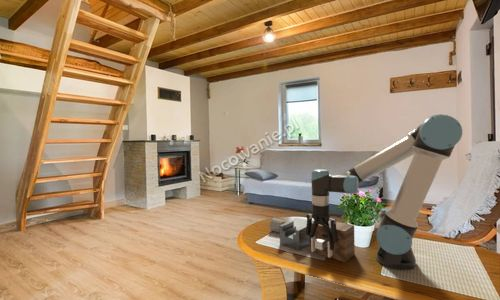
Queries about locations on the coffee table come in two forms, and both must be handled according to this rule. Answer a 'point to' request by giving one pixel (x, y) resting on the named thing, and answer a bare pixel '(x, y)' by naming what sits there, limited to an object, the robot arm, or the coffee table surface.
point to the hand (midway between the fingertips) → (321, 253)
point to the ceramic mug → (276, 224)
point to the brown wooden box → (344, 244)
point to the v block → (293, 236)
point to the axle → (321, 242)
